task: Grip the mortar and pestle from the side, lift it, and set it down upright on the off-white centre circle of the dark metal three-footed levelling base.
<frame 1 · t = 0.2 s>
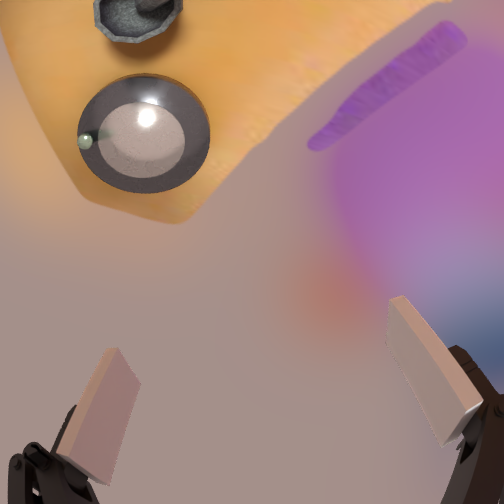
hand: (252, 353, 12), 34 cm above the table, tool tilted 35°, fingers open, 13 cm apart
levelling base: (144, 130, 36), on the table
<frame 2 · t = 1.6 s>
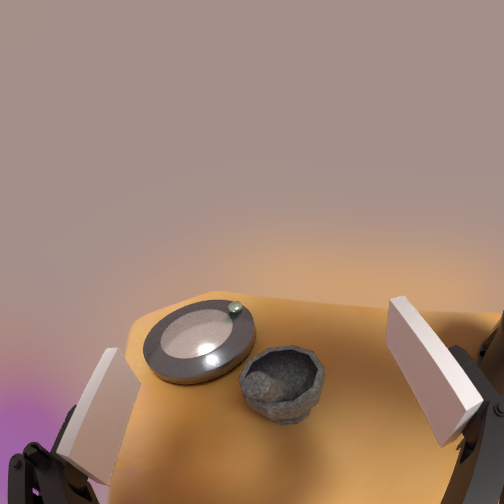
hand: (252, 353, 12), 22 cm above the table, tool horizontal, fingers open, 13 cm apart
mortar and pestle: (287, 411, 31), on the table
levelling base: (202, 347, 46), on the table
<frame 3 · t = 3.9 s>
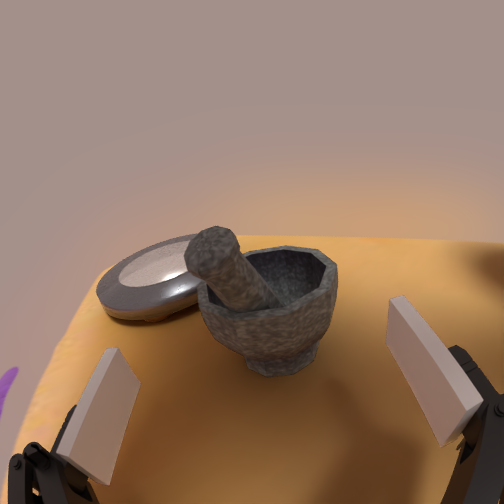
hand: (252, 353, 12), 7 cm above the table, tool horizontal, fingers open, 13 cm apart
mortar and pestle: (278, 356, 21), on the table
levelling base: (172, 284, 36), on the table
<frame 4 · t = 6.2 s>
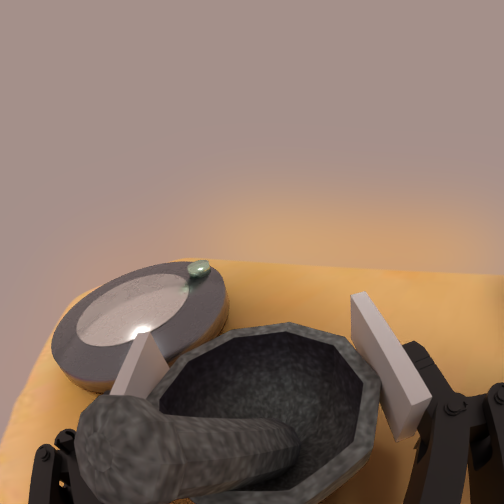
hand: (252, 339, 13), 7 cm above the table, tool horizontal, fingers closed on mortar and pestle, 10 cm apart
mortar and pestle: (275, 471, 12), on the table, touching gripper
levelling base: (143, 332, 27), on the table
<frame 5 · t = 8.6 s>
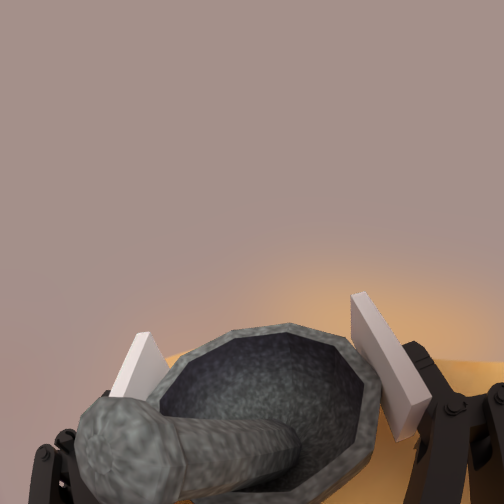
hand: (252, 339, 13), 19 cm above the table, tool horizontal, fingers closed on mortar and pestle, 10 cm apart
mortar and pestle: (276, 472, 12), point 12 cm above the table, touching gripper
when the fingers open (12 cm above the table, at t = 11.4 s): mortar and pestle drops 1 cm, resting on levelling base.
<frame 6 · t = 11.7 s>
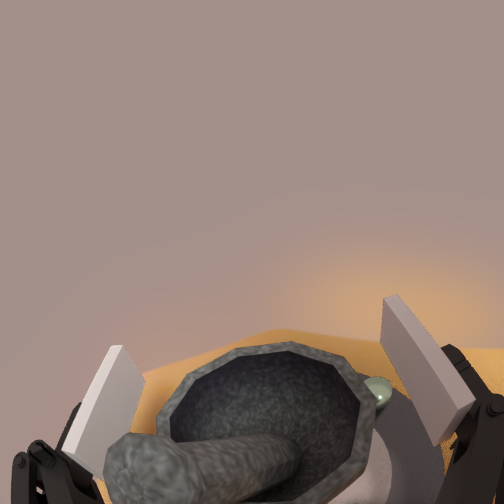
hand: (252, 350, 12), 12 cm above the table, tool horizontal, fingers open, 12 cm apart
mortar and pestle: (278, 478, 12), point 4 cm above the table, touching levelling base
levelling base: (289, 491, 13), on the table
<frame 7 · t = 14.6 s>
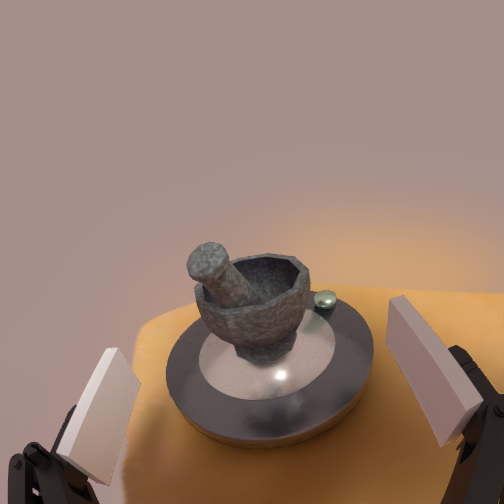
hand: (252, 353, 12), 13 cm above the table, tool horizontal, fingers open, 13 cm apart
mortar and pestle: (262, 346, 25), point 4 cm above the table, touching levelling base
levelling base: (271, 369, 26), on the table
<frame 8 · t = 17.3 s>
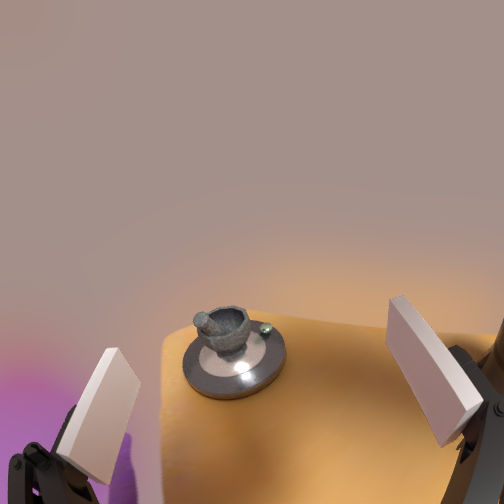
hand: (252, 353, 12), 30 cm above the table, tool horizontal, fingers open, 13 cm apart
mortar and pestle: (230, 352, 50), point 4 cm above the table, touching levelling base
levelling base: (236, 364, 51), on the table
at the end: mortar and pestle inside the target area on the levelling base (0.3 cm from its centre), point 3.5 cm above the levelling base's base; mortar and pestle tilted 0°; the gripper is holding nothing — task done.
